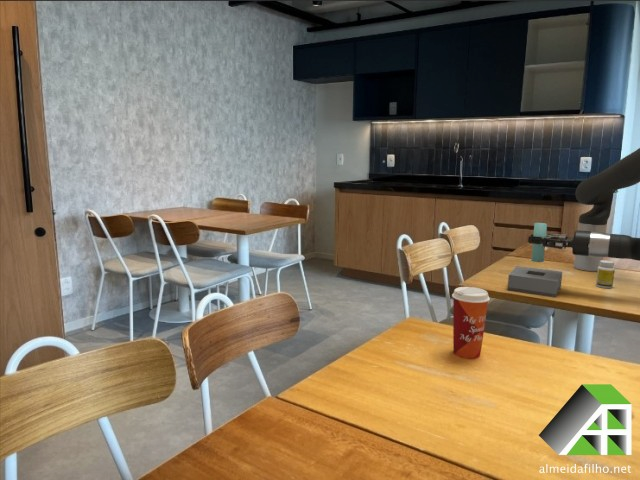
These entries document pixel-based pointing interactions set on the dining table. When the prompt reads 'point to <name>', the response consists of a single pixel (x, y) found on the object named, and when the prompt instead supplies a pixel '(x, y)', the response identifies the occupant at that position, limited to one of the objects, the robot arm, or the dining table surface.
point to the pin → (539, 249)
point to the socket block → (535, 281)
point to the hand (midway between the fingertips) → (529, 238)
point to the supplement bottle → (605, 274)
